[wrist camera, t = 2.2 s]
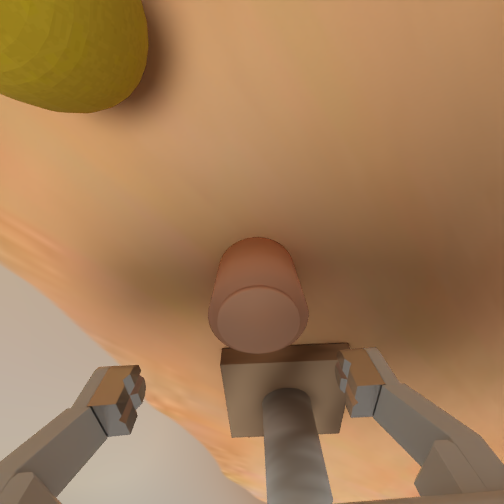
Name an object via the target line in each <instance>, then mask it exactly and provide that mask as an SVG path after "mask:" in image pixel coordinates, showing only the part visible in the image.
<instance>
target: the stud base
mask: <svg viewBox="0 0 504 504" xmlns="http://www.w3.org/2000/svg"><path fill="white" fill-rule="evenodd" d="M344 349H350V347H349V345H348V343H339V344H316V345H293V346H287V347H285V348H283V349H280V350H278V351H274V352H270V353H262V354H253V353H245V352H241V351H238V350H235V349H233V348H223V349H222V355H221V363H220V366H221V373H222V379H223V386H224V392H225V398H226V405H227V411H228V417H229V424H230V430H231V436H232V438H234V437H260V436H264V446H265V466H266V486H267V504H332V502H333V497H332V493H331V489H330V484H329V480H328V475H327V471H326V467H325V462H324V458H323V454H322V449H321V445H320V441H319V436H318V434H336V433H339V432H340V427H341V422H342V418H343V413H344V409H345V402H344V396H345V393H344V392H342V391H341V390H340V389H339V386H338V384H337V380H336V376H335V364H336V363H337V362H338V359H337V357H336V356H337V352H338V350H344Z"/></svg>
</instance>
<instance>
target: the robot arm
mask: <svg viewBox="0 0 504 504" xmlns="http://www.w3.org/2000/svg"><path fill="white" fill-rule="evenodd" d="M336 357H337V359H338V362H337V363H336V364H335V376H336V380H337V384H338V386H339V389H340V390H341V391H342V392H344V393H345V396H344V402H345V404H346V407H347V409H348V412H349V414H350V417H351V418H353V417H373V418H374V419H375V420H376V421H377V422H378V423H379V424H380V425H381V426H382V427H383V428H384V429H385V430H386V431H387V432H388V433H389V434H390V435H391V436H392V437H393V438H394V439H395V440H396V441H397V442H398V443H399V444H400V445H401V446H402V447H403V448H404V449H405V450H406V451H407V452H408V454H409V455H410V456H411V457H412V458H413V459H414V460H415V461H416V462H417V463H418V464H419V465H420V466H421V469H420V471H419V473H418V475H417V477H416V479H415V482H414V484H415V486H416V488H417V490H418V492H419V494H420V496H421V497H411V498H398V499H386V500H374V501H361V502H349V503H337V504H504V464H503V463H502V462H501V461H500V459H499V458H498V457H497V456H496V454H495V453H494V452H493V451H492V449H491V448H490V447H489V446H488V444H487V443H486V442H485V441H484V439H483V438H482V437H481V436H480V435H479V434H477V433H476V432H474V431H473V430H471V429H470V428H468V427H467V426H466V425H464V424H463V423H461V422H460V421H458V420H457V419H455V418H454V417H452V416H451V415H450V414H448V413H447V412H445V411H444V410H442V409H441V408H439V407H438V406H436V405H435V404H434V403H432V402H431V401H429V400H428V399H426V398H425V397H423V396H422V395H420V394H419V393H418V392H416V391H415V390H413V389H412V388H410V387H409V386H407V385H406V384H401V383H400V382H399V380H398V379H397V377H396V376H395V374H394V373H393V371H392V370H391V368H390V367H389V365H388V364H387V362H386V361H385V359H384V358H383V356H382V355H381V353H380V352H379V350H378V349H377V348H376V347H372V348H356V349H344V350H338V352H337V356H336ZM140 372H141V369H140V367H139V365H126V366H108V367H98V368H97V369H96V370H95V371H94V373H93V374H92V376H91V377H90V379H89V381H88V382H87V384H86V385H85V387H84V388H83V390H82V392H81V393H80V395H79V396H78V398H77V400H76V401H75V403H74V404H73V406H72V407H71V408H69V409H66V410H65V411H64V412H62V413H61V414H60V415H58V416H57V417H56V418H55V419H53V420H52V421H51V422H50V423H48V424H47V425H46V426H45V427H43V428H42V429H41V430H39V431H38V432H37V433H36V434H34V435H33V436H32V437H31V438H30V439H28V440H27V441H26V442H24V443H23V444H22V445H21V446H19V447H18V448H17V449H16V450H14V451H13V452H12V453H11V454H9V455H8V456H7V457H5V458H4V459H3V460H2V461H1V462H0V504H61V503H60V502H59V500H57V498H56V497H57V496H58V495H59V494H60V493H61V491H62V490H63V489H64V488H65V487H66V486H67V484H68V483H69V482H70V481H71V480H72V479H73V477H74V476H75V475H76V474H77V473H78V472H79V470H80V469H81V468H82V467H83V466H84V465H85V464H86V463H87V461H88V460H89V459H90V458H91V457H92V456H93V454H94V453H95V452H96V451H97V450H98V449H99V447H100V446H101V445H102V444H103V443H104V442H105V441H106V439H107V437H111V436H120V435H129V434H131V431H132V429H133V426H134V423H135V421H136V418H137V412H136V409H137V408H138V407H139V406H140V405H141V404H142V402H143V399H144V396H145V390H146V385H145V380H144V378H143V377H141V376H140V375H139V374H140Z"/></svg>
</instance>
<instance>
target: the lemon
mask: <svg viewBox="0 0 504 504" xmlns="http://www.w3.org/2000/svg"><path fill="white" fill-rule="evenodd" d="M148 46H149V44H148V30H147V20H146V17H145V13H144V9H143V6H142V2H141V0H0V94H2V95H5V96H7V97H10V98H12V99H15V100H18V101H21V102H24V103H27V104H31V105H34V106H37V107H40V108H44V109H47V110H51V111H56V112H66V113H93V112H97V111H100V110H104V109H108V108H111V107H114V106H116V105H117V104H119V103H120V102H122V101H123V100H125V99H126V98H128V97H129V96H130V95H131V93H132V92H133V91H134V89H135V88H136V87H137V86H138V84H139V83H140V80H141V77H142V75H143V72H144V70H145V67H146V61H147V54H148Z"/></svg>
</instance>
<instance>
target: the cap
mask: <svg viewBox="0 0 504 504" xmlns="http://www.w3.org/2000/svg"><path fill="white" fill-rule="evenodd" d="M308 317H309V312H308V306H307V303H306V300H305V297H304V294H303V291H302V288H301V285H300V282H299V279H298V276H297V273H296V270H295V267H294V264H293V261H292V258H291V256H290V254H289V253H288V251H287V250H286V249H285V248H284V247H283V246H282V245H280V244H279V243H277V242H275V241H273V240H270V239H267V238H261V237H253V238H247V239H243V240H241V241H238V242H237V243H235V244H233V245H232V246H231V247H229V248H228V249H227V250H226V252H225V253H224V254H223V256H222V258H221V261H220V264H219V268H218V273H217V277H216V281H215V285H214V290H213V294H212V298H211V302H210V306H209V311H208V320H209V324H210V327H211V329H212V331H213V333H214V334H215V336H216V337H217V338H218V339H219V340H220V341H221V342H222V343H224V344H225V345H227V346H229V347H230V348H233V349H235V350H238V351H241V352H245V353H253V354H262V353H270V352H274V351H278V350H280V349H283V348H285V347H287V346H289V345H290V344H292V343H293V342H294V341H295V340H297V339H298V338H299V337H300V335H301V334H302V333H303V331H304V330H305V328H306V325H307V322H308Z"/></svg>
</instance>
